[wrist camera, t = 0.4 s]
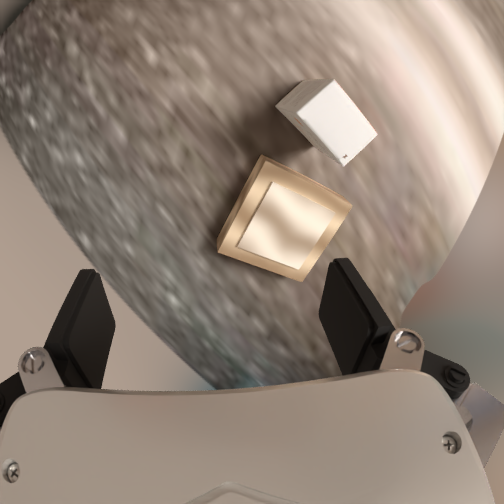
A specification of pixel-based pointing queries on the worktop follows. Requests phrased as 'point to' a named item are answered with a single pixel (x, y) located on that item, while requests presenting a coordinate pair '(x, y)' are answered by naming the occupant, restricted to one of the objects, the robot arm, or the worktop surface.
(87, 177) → the worktop surface
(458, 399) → the robot arm
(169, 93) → the worktop surface
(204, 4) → the worktop surface
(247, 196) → the maple plinth
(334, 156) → the small box
